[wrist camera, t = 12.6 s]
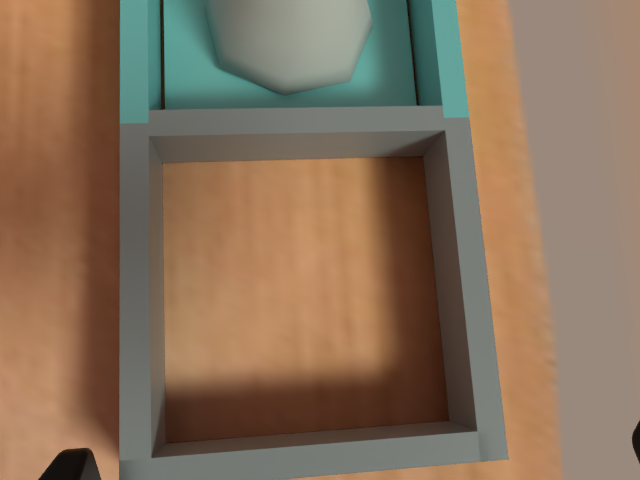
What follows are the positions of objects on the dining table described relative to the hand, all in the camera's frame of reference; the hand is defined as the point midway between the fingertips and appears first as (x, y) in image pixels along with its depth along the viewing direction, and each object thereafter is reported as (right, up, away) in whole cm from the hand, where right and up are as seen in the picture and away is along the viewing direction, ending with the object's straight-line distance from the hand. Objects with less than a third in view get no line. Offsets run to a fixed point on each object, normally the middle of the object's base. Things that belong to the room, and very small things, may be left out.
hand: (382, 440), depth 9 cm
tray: (-2, +7, +15) cm, 17 cm away
